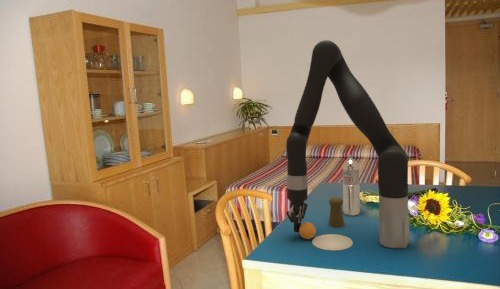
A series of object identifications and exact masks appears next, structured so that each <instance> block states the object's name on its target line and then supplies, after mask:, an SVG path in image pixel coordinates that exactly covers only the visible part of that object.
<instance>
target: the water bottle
mask: <svg viewBox="0 0 500 289" xmlns="http://www.w3.org/2000/svg"><path fill="white" fill-rule="evenodd" d="M353 156H354V155H352V154H350V155H348V156H347V158H348V159H346V160H345V161H344V162H343V164H342V166H341V167H342V168H341V169H342V201H343V204H342V206H343V208H342V211H343V214H345V215H346V216H351V217H353V216H358V215H360V213H361V201H360V200H361V196H360V195H361V194H360V192H361V191H360V164H359V163H358V162H357V161H356V160H355V159H354V157H353Z"/></svg>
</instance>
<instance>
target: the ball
mask: <svg viewBox="0 0 500 289" xmlns="http://www.w3.org/2000/svg"><path fill="white" fill-rule="evenodd" d="M316 232H317V229H316V227H315V225H314V223H312V222H309V221H306V222H303V223H301V226H300V228H299V235H300V236H301V237H302V239H305V240H311V239H312V238H313V239H314V238H315V235H316Z"/></svg>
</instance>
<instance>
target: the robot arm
mask: <svg viewBox="0 0 500 289" xmlns="http://www.w3.org/2000/svg"><path fill="white" fill-rule="evenodd" d="M309 65H310V66H309V71H308V76H307V78H306V79H307V80H306V83H305V86H304V89H303V91H302V92H303V93H302V95H301V98H300V101H299V103H298V107H297V109H296V113H295V115H294V123H293V125H292V127H291V130H290V132H289V135H288V137H287V139H286V144H285V146H286V147H285V148H286V157H287V165H286V166H287V169H286V170H287V174H286V175H287V177H286V198H287V200H288V201H290V202H289V203H290V204H289V208H290V209H289V210H287V211H286V215H287V216H286V217H288V220H289V222H290V223H293V231H294V233H299V228H300V226H301V225H302V222H303V220H304V219H305V214H306V211H307V209H308V203H305V201H306V200H307V199H308V198H309V197H308V196H309V191H308V189H309V188H308V186H309V185H308V182H309V181H308V180H309V179H308V164H307V144H308V140H309V137H310V135H311V132H312V131H311V130H312V128H313V126H314V124H315V121H316V118H317V115H318V113H319V110H320V106H321V102H322V97H323V92H324V89H325V86H326V82H327V80H328V79H329V80H330V82H331V83H332V85H333V87H334V89H335V91H336V94H337V96H338V100H339V102H340V104H341V106H342V107H343V109H344V111H345V112H346V114H347V116H348V117H349V119H350V120H351V122H352V123H353V125H354V126H355V127H356V128H357V129H358V130H359V132H360V133H362V134H363V136H364V137H366V138H367V140H368V141H369V142H370V144H371V145H372V147H373V150H374V151H375V154H376V155H377V157H378V160H377V182H378V183H377V185H378V186H377V187H378V216H379V217H378V220H379V221H378V223H379V224H378V225H379V226H378V228H379V229H378V230H379V231H378V233H379V235H378V238H379V242H378V243H379V244H380V245H381V246H383V247H385V248H390V249H407V247H408V245H410V215H409V155H408V154H407V152H406V150H404V148H403V147H402V146H401V145H400V143H399V142H398V141H397V140H396V138H395V137H394V135H392V134H393V133H391V131H390V130H389V129H388V128H389V127H388V126H387V124H386V123H385V121H384V120H385V119H383V117H382V115H381V113H380V111H379V109H378V108H377V105H376V104H375V102H374V101H373V99H372V98H371V96H370V95H369V93H368V92H367V90H366V89H365V87H363V86H364V85H362V84H361V83H360V82H359V80H358V79H357V78H356V77H355V76H354V74H353V73H352V71H351V70H350V69H351V68H349V66H348V64H347V62H346V60H345V57H344V56H343V53H342V51H341V49H340V47H339V46H338V44H336V43H335V42H333V41H331V40H327V39H326V40H325V39H324V40H320V41H318V42H317V43H316V44H315V45H314V46H313V49H312V52H311V59H310V64H309ZM299 234H300V233H299Z"/></svg>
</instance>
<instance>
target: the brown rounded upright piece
mask: <svg viewBox="0 0 500 289" xmlns="http://www.w3.org/2000/svg"><path fill="white" fill-rule="evenodd" d="M328 204H329V206H330V208H329V209H330V210H329V219H328V226H329V227H331V228H343V227H344V226H345V220H344V215H343V214H344V213H343V208H342V206H343V198H341V197H338V196H333V197H331V198H329V200H328Z"/></svg>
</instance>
